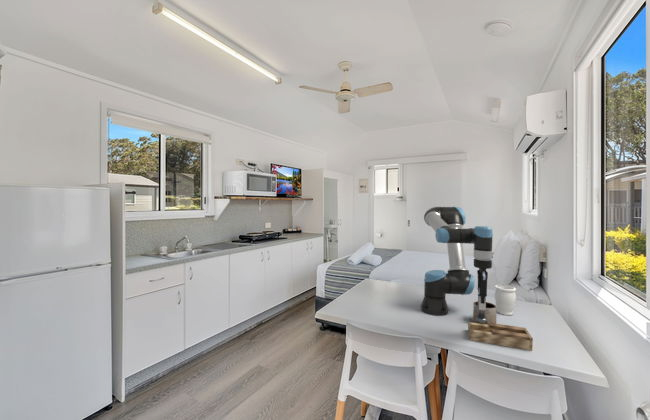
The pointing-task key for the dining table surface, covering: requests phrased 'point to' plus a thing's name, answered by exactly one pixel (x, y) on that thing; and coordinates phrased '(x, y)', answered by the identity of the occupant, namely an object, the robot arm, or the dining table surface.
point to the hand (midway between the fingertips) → (481, 308)
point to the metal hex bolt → (480, 314)
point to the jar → (505, 299)
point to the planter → (486, 312)
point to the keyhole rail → (499, 340)
